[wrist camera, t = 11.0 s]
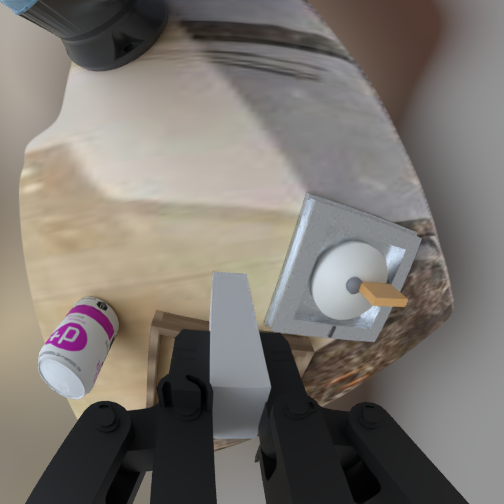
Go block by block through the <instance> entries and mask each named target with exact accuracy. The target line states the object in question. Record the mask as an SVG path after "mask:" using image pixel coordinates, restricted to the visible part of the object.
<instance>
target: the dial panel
mask: <svg viewBox="0 0 504 504" xmlns="http://www.w3.org/2000/svg"><path fill="white" fill-rule="evenodd" d="M417 234H418V233H417V232H415V231H413V230H410V229H408V228H406V227H403V226H400V225H398V224H395V223H393V222H390V221H388V220H385V219H382V218H380V217H377V216H374V215H371V214H369V213H366V212H363V211H360V210H358V209H355V208H352V207H349V206H346V205H343V204H340V203H337V202H334V201H331V200H328V199H325V198H322V197H319V196H316V195H313V194H309V193H306V195H305V198H304V202H303V205H302V208H301V211H300V214H299V218H298V221H297V224H296V227H295V230H294V233H293V236H292V239H291V243H290V246H289V249H288V252H287V255H286V258H285V261H284V264H283V267H282V270H281V273H280V276H279V279H278V282H277V285H276V288H275V291H274V293H273V296H272V299H271V302H270V305H269V308H268V311H267V314H266V316H265V319H264V324H265V326H270V328H271V331H275V332H282V333H290V334H297V335H306V336H314V337H323V338H333V339H344V340H355V341H369V342H375V340H376V338H377V337H378V335H379V333H380V331H381V329H382V327H383V325H384V323H385V322H386V320H387V318H388V316H389V314H390V312H391V310H392V308H393V307H392V306H372V307H371V308H370V309H369V310H368V311H366V312H365V313H363V314H362V315H360V316H357V317H355V318H351V319H346V320H338V319H333V318H330V317H328V316H326V315H325V314H324V313H322V312H321V310H320V309H319V308H318V306H317V305H316V303H315V301H314V300H313V297H312V294H311V278H312V274H313V271H314V269H315V267H316V265H317V263H318V262H319V260H320V259H321V258H322V256H323V255H324V254H325V253H326V252H327V251H329V250H330V249H331V248H333V247H334V246H336V245H338V244H340V243H343V242H347V241H362V242H365V243H368V244H369V245H371V246H372V247H374V248H375V249H377V250H378V251H379V252H380V253H381V254H382V255H383V257H384V259H385V261H386V264H387V269H388V277H387V283H386V284H391V285H392V286H393V287H395V288H396V289H397V290H398V291H399V292H400V291H401V289H402V286H403V284H404V282H405V280H406V277H407V275H408V273H409V270H410V268H411V265H412V263H413V260H414V258H415V255H416V253H417V250H418V248H419V245H420V242H421V239H422V238H420V237H418V236H417Z"/></svg>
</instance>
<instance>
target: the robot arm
mask: <svg viewBox="0 0 504 504" xmlns="http://www.w3.org/2000/svg"><path fill="white" fill-rule="evenodd" d="M0 1H1V3H3V4H4V5H6V6H7V7H8V8H10V9H11V10H13V13H15V14H16V15H19V16H21V17H23V18H25V19H27V20H29V21H31V22H33V23H35V24H37V25H39V26H40V27H42V28H44V29H46V30H48V31H49V32H51V33H53V34H55V35H56V36H58V37H60V38H61V40H62V42H63V44H64V46H65V48H66V51H67V53H68V56H69V57H70V59H71V60H72V61H73V62H74V63H76V64H77V65H79V66H81V67H83V68H85V69H87V70H91V71H107V70H112V69H115V68H118V67H121V66H123V65H126V64H128V63H130V62H131V61H133V60H135V59H136V58H138V57H139V56H141V55H142V54H143V53H145V52H146V51H147V50H148V49H149V48H150V47H151V46H152V45H153V44H154V43H155V42H156V41H157V39H158V38H159V37H160V35H161V34H162V32H163V30H164V28H165V26H166V23H167V19H168V7H167V4H166V1H165V0H0ZM157 392H158V398H159V403H157V404H156V405H154V406H152V407H150V408H145V409H139V410H130V411H127V410H126V409H125V408H124V407H122V406H121V405H119V404H118V403H115V402H111V401H99V402H96V403H94V404H92V405H90V406H89V407H88V408H87V409H86V410H85V411H84V412H83V414H82V415H81V417H80V418H79V420H78V421H77V423H76V424H75V426H74V427H73V428H72V430H71V431H70V433H69V435H68V436H67V437H66V439H65V440H64V442H63V444H62V445H61V446H60V448H59V450H58V451H57V453H56V454H55V456H54V457H53V459H52V461H51V462H50V464H49V465H48V467H47V468H46V470H45V471H44V473H43V475H42V476H41V478H40V479H39V481H38V483H37V485H36V486H35V488H34V489H33V491H32V493H31V494H30V496H29V498H28V499H27V501H26V503H25V504H133V501H134V499H135V496H136V494H137V492H138V489H139V487H140V485H141V482H142V480H143V478H144V475H145V473H146V471H153V472H152V483H151V497H150V504H217V499H216V485H215V466H214V444H213V438H222V439H246V438H256V437H257V434H258V433H259V438H260V445H259V448H258V451H257V453H256V456H255V462H258V461H260V468H261V475H262V481H263V486H264V493H265V499H266V504H469V503H468V502H467V501H466V500H465V499H464V498H463V496H462V495H461V494H460V493H459V492H458V491H457V490H456V489H455V488H454V486H453V485H452V484H451V483H450V482H449V481H448V480H447V479H446V477H445V476H444V475H443V474H442V473H441V472H440V471H439V470H438V468H437V467H436V466H435V465H434V464H433V463H432V462H431V461H430V460H429V459H428V458H427V456H426V455H425V454H424V453H423V452H422V451H421V449H420V448H419V447H418V446H417V445H416V444H415V443H414V442H413V440H412V439H411V438H410V437H409V436H408V435H407V434H406V433H405V431H404V430H403V429H402V428H401V427H400V426H399V425H398V424H397V422H396V421H395V420H394V419H393V418H392V417H391V416H390V415H389V414H388V413H387V411H386V410H385V409H383V408H382V407H381V406H379V405H377V404H375V403H370V402H362V403H358V404H356V405H355V406H354V407H352V408H351V410H350V411H349V412H348V411H339V410H332V409H327V408H323V407H321V406H319V405H318V403H317V402H316V401H315V400H314V399H313V398H311V397H310V396H308V395H307V393H306V391H305V388H304V385H303V382H302V379H301V377H300V374H299V371H298V368H297V365H296V362H295V359H294V356H293V354H292V350H291V348H290V345H289V342H288V341H287V340H286V339H285V337H284V336H283V335H282V334H281V333H265V332H259V330H258V326H257V321H256V316H255V312H254V307H253V302H252V298H251V293H250V288H249V284H248V279H247V274H240V273H226V272H213V277H212V291H211V306H210V323H209V331H203V330H190V329H182V330H181V332H180V333H179V334H178V335H177V336H176V337H175V342H174V348H173V353H172V359H171V365H170V371H169V374H167V375H166V376H165V377H163V378H162V379H161V380H160V382H159V384H158V386H157Z"/></svg>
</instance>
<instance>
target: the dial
mask: <svg viewBox="0 0 504 504" xmlns="http://www.w3.org/2000/svg"><path fill="white" fill-rule="evenodd" d="M387 277H388V269H387V264H386V261H385V259H384V257H383V255H382V254H381V253H380V252H379V251H378V250H377V249H375V248H374V247H372V246H371V245H369V244H368V243H365V242H362V241H347V242H343V243H340V244H338V245H336V246H334V247H333V248H331V249H330V250H329V251H327V252H326V253H325V254H324V255H323V256H322V258H321V259H320V260H319V262H318V263H317V265H316V267H315V269H314V271H313V274H312V278H311V294H312V297H313V300H314V301H315V303H316V305H317V306H318V308H319V309H320V310H321V312H322V313H324V314H325V315H326V316H328V317H330V318H333V319H338V320H346V319H351V318H355V317H357V316H360V315H362V314H363V313H365V312H366V311H368V310H369V309H370V308H371V307H372V306H392V307H405V306H406V304H407V301H408V299H407V298H406V297H405V296H404V295H403V294H402V293H400V292H399V291H398V290H397V289H396V288H395V287H393V286H392V285H391V284H386V283H387Z"/></svg>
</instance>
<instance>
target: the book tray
mask: <svg viewBox="0 0 504 504" xmlns="http://www.w3.org/2000/svg"><path fill="white" fill-rule="evenodd" d="M209 323H210V322H208V321H203V320H198V319H193V318H188V317H183V316H179V315H174V314H170V313H165V312H161V311H157V310H156V313H155V316H154V318H153V321H152V324H151V331H150V342H149V356H148V373H147V402H146V408H150V407H152V406H154V405H156V404H155V398H156V383H157V371H158V360H159V350H160V341H161V335H164V336H169V337H174V338H175V337H176V336H177V335H178V334H179V333H180V332H181V330H182V329H190V330H203V331H209ZM259 332H265V333H273V332H266V331H260V330H259ZM282 335H283V336H284V337H285V339H286V340H287V341H288V342H289V345H290V348H291V350H292V354H293V356H294V359H295V362H296V365H297V368H298V371H299V374H300V377H302V375H303V374H304V372H305V370H306V368H307V366H308V364H309V362H310V360H311V358H312V356H313V354H314V349H313V347H312V345H311V343H310V341H309V339H308V337H304V336H296V335H288V334H282ZM257 436H259V433H258V434H257Z"/></svg>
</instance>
